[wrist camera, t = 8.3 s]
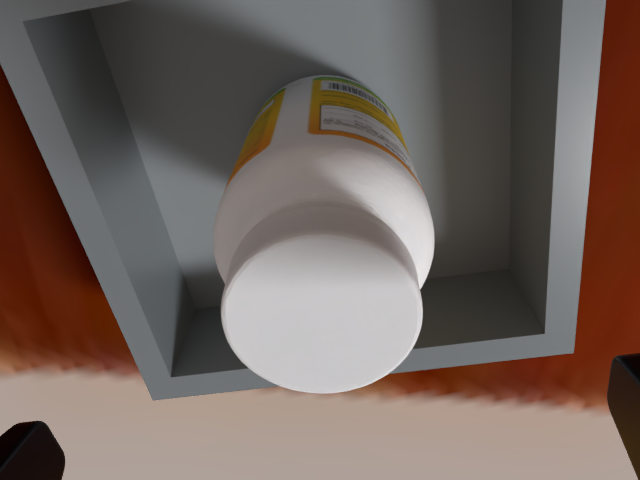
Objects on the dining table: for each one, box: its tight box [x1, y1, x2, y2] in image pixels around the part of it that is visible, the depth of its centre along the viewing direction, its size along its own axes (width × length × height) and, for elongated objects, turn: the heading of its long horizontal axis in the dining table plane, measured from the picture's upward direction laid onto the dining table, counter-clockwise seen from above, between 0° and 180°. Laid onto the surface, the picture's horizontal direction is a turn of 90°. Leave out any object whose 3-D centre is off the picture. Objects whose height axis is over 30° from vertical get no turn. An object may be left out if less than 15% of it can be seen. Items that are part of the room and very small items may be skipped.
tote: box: [0, 0, 606, 400], centre depth 17 cm, size 15×14×5 cm
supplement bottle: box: [213, 75, 434, 393], centre depth 14 cm, size 5×5×10 cm
